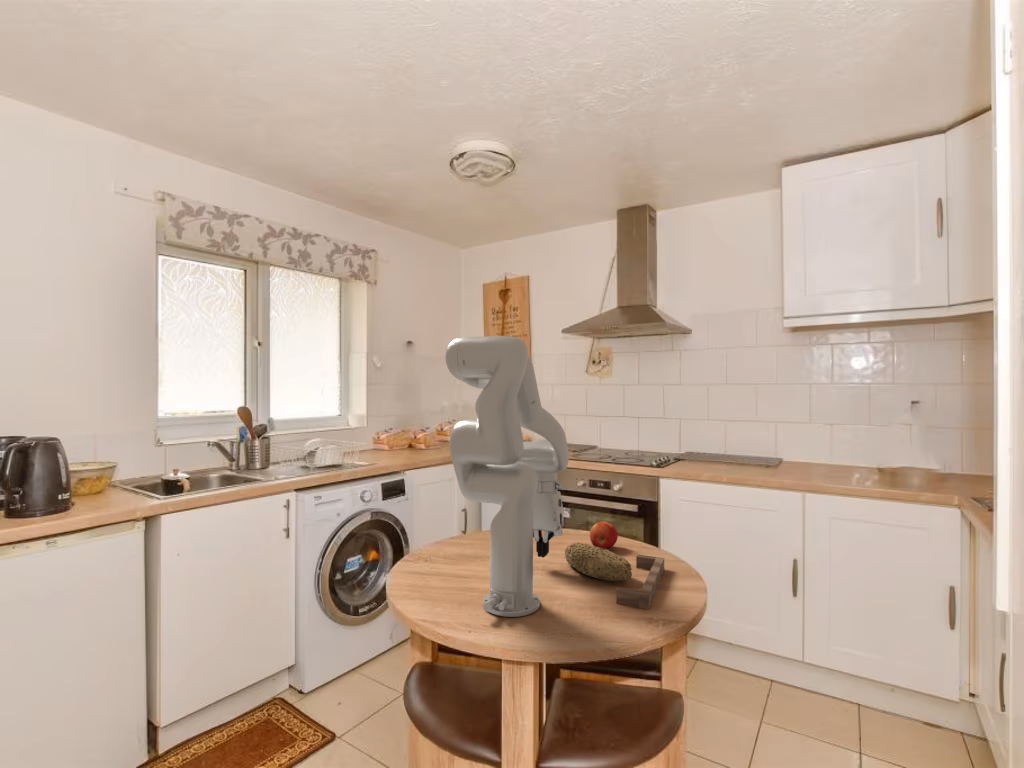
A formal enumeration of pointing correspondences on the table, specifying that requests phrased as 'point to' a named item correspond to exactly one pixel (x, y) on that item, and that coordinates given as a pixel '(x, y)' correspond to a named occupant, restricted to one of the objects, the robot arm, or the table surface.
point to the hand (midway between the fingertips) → (542, 555)
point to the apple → (603, 535)
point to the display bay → (648, 590)
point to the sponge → (598, 562)
